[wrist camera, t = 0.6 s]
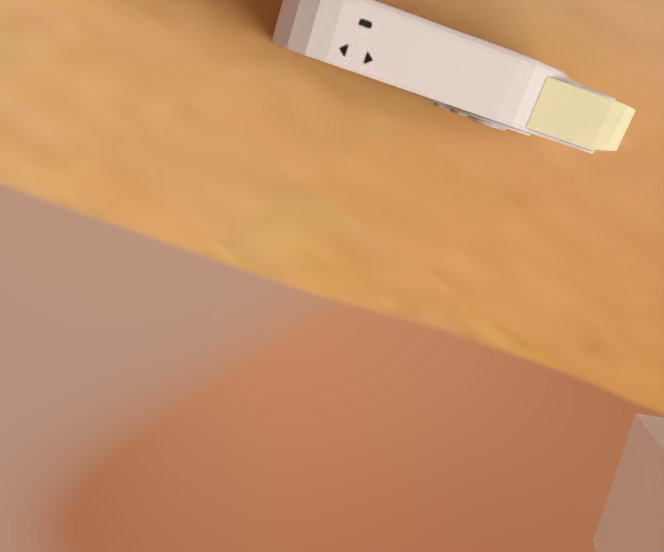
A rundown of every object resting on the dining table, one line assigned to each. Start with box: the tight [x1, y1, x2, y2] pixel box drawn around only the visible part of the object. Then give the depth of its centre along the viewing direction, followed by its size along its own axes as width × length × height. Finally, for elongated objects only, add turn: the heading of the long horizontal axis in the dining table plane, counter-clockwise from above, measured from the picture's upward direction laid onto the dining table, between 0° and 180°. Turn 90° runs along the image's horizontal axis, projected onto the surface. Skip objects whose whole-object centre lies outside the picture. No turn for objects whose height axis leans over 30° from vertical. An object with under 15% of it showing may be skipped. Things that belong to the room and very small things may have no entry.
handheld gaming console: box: [272, 0, 635, 153], centre depth 27 cm, size 11×3×15 cm
